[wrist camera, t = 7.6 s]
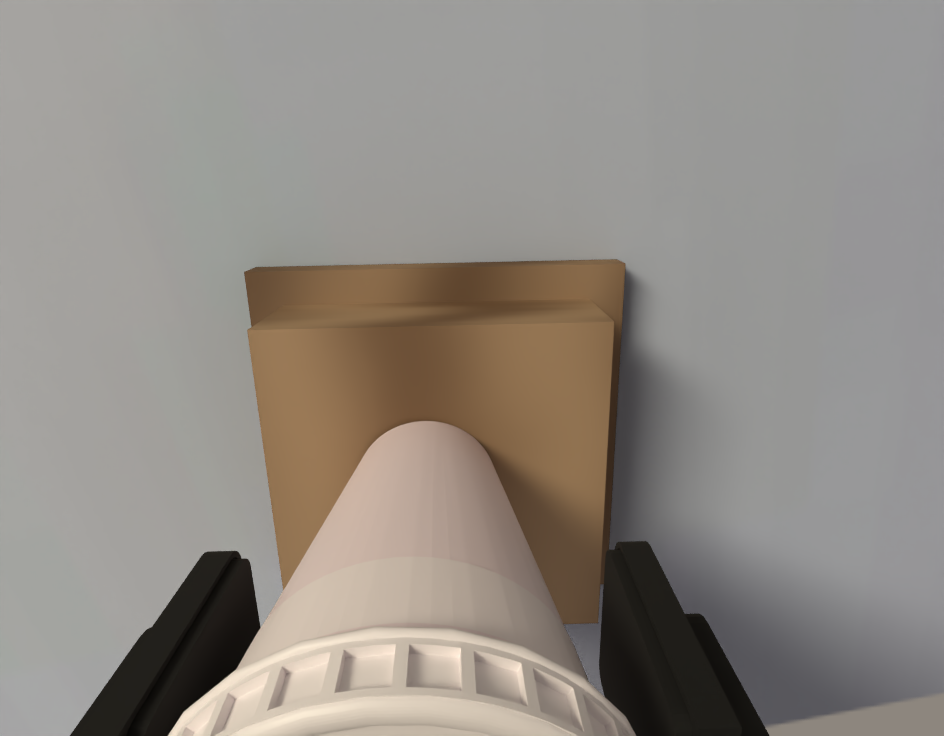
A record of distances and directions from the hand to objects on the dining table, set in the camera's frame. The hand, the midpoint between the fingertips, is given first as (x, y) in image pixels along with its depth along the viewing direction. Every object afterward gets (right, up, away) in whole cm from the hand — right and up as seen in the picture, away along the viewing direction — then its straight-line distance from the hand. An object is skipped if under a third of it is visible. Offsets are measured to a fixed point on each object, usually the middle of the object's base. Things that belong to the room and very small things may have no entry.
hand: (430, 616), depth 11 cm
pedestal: (0, +3, +9) cm, 9 cm away
